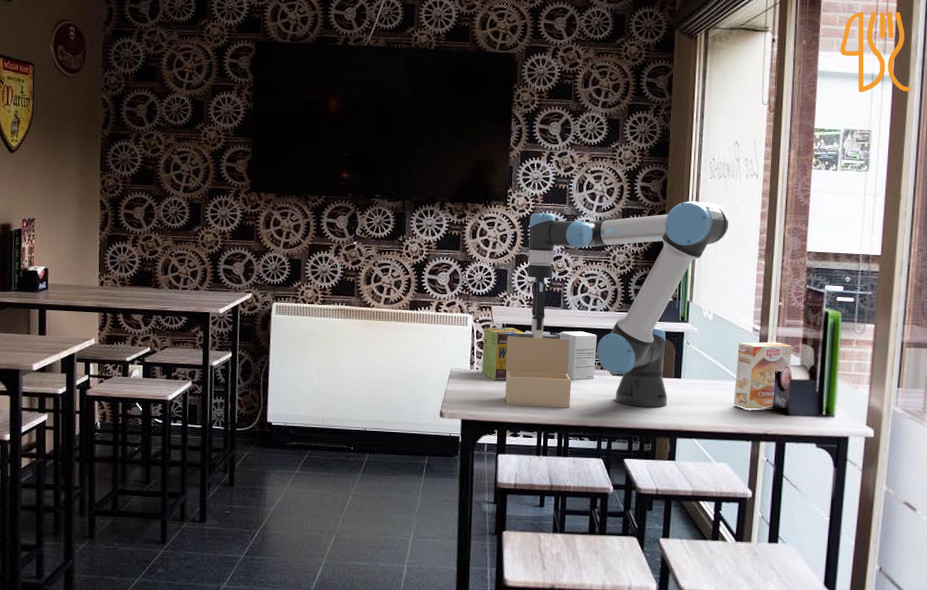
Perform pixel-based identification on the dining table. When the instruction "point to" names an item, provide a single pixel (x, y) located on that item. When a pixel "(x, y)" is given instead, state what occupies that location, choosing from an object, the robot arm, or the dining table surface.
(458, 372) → the dining table surface
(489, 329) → the protein box
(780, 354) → the coffeecake box
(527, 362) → the flap
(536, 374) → the carton
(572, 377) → the supplement box
